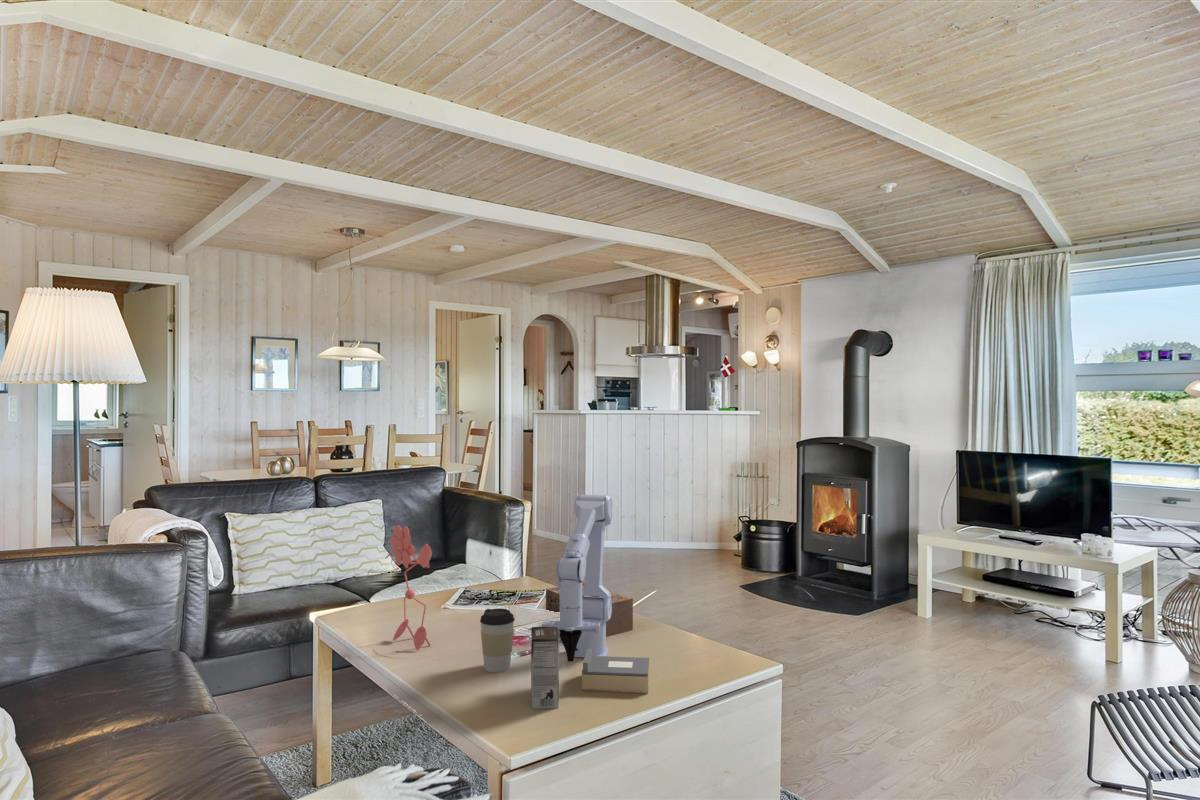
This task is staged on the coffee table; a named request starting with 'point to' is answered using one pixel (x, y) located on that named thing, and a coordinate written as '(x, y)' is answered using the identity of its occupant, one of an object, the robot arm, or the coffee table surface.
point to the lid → (615, 665)
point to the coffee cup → (497, 639)
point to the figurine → (403, 552)
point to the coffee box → (544, 667)
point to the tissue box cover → (619, 616)
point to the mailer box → (615, 683)
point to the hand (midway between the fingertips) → (570, 660)
